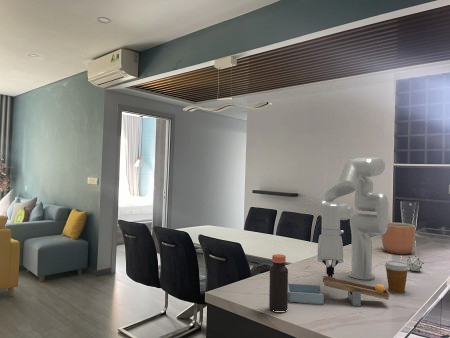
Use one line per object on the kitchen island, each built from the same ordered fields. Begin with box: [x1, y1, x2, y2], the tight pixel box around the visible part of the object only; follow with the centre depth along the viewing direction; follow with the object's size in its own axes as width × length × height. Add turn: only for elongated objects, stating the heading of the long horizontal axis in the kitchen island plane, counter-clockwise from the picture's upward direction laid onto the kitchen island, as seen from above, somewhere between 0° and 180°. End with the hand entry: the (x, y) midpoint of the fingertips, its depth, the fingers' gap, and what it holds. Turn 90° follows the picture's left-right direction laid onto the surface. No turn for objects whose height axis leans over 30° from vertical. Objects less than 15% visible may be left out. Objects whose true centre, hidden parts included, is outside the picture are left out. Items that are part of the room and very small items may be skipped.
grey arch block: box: [347, 291, 362, 307], centre depth 136 cm, size 9×3×6 cm, turn 172°
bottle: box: [268, 253, 289, 312], centre depth 127 cm, size 7×7×20 cm
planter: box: [381, 221, 416, 255], centre depth 231 cm, size 21×21×19 cm
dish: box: [288, 282, 325, 306], centre depth 139 cm, size 12×14×4 cm
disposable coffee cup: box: [384, 260, 410, 294], centre depth 151 cm, size 10×10×12 cm
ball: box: [374, 283, 386, 293], centre depth 135 cm, size 4×4×4 cm
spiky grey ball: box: [406, 255, 425, 272], centre depth 183 cm, size 9×8×10 cm
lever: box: [322, 275, 391, 300], centre depth 139 cm, size 13×24×4 cm, turn 82°
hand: (330, 275), depth 145 cm, fingers closed
